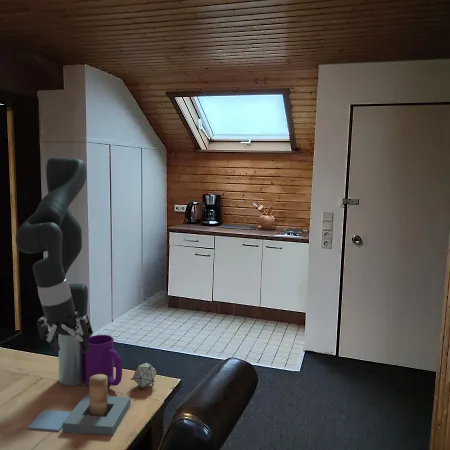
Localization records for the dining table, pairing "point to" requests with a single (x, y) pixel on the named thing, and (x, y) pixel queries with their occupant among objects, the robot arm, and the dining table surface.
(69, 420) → the board
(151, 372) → the game die
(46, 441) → the dining table surface
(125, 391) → the dining table surface
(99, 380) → the peg
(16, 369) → the dining table surface
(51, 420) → the pad
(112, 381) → the mug
